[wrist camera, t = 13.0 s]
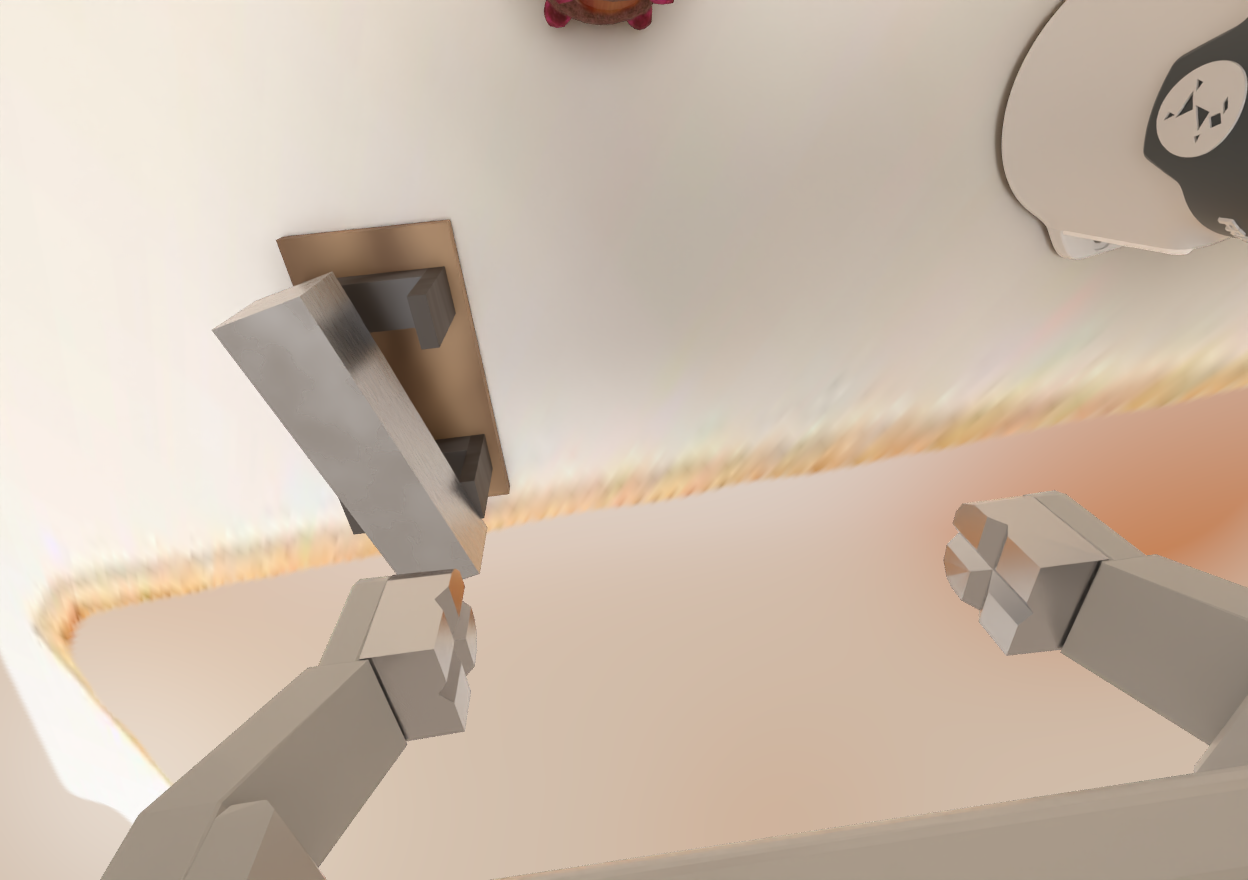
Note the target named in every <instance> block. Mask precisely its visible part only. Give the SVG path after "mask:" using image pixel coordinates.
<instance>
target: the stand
mask: <svg viewBox="0 0 1248 880" xmlns="http://www.w3.org/2000/svg"><path fill="white" fill-rule="evenodd" d="M276 241H277V244H278V247H279V249H280V252H281V255H282V257H283V260H284V263H285V265H286V268H287V271H288V273H289V276H290V278H291V281H292V284H293V286H296V285H299V284H301V283H304V282H306V281H309V280H312V279H314V278H317V277H319V276H322V275H325V274H327V273H330V272H333V273H334V274H335V276H336V278H337V279H338V281H339V283H340V284H341V286H342V288H343V289H344V291H345V293H346V294H347V296H348V297H349V299H350V301H351V302H352V304H353V306H354V307H355V309H356V311H357V312H358V314H359V316H360V317H361V319H362V321H363V322H364V324H365V326H366V327H367V329H368V331H369V332H370V334H371V336H372V337H373V339H374V341H375V342H376V344H377V346H378V347H379V349H380V351H381V352H382V354H383V355H384V357H385V359H386V360H387V362H388V364H389V365H390V367H391V369H392V370H393V372H394V374H395V375H396V377H397V379H398V380H399V382H400V384H401V385H402V387H403V389H404V390H405V392H406V394H407V395H408V397H409V399H410V400H411V402H412V404H413V405H414V407H415V409H416V410H417V412H418V413H419V415H420V417H421V418H422V420H423V422H424V423H425V425H426V427H427V428H428V430H429V432H430V433H431V435H432V437H433V438H434V440H435V442H436V443H437V445H438V447H439V448H440V450H441V452H442V453H443V455H444V457H445V458H446V460H447V462H448V463H449V465H450V466H451V468H452V470H453V471H454V473H455V475H456V476H457V478H458V480H459V481H460V483H461V485H462V486H463V488H464V490H465V491H466V493H467V495H468V496H469V498H470V500H471V501H472V503H473V505H474V506H475V508H476V510H477V511H478V513H479V515H480V516H481V518H484V516H485V510H486V504H487V499H488V497H489V496H497V495H505V494H509V490H510V485H509V480H508V476H507V471H506V467H505V463H504V458H503V454H502V449H501V445H500V440H499V436H498V431H497V427H496V422H495V418H494V414H493V409H492V405H491V400H490V396H489V391H488V387H487V382H486V378H485V373H484V369H483V364H482V360H481V356H480V351H479V347H478V342H477V338H476V333H475V329H474V324H473V320H472V315H471V311H470V307H469V302H468V298H467V293H466V289H465V284H464V280H463V275H462V271H461V266H460V262H459V258H458V253H457V249H456V244H455V240H454V235H453V231H452V226H451V222H450V220H441V221H431V222H421V223H412V224H402V225H392V226H383V227H373V228H363V229H353V230H344V231H334V232H324V233H315V234H305V235H295V236H286V237H281V238H279V239H277V240H276ZM339 500H340V499H339ZM340 503H341V505H342V507H343V510H344V512H345V515H346V517H347V519H348V522H349V524H350V527H351V529H352V531H353V534H361V533H365V532H364V531H363V529H362V528H361V527H360V525H359V524H358V523H357V521H356V520H355V519H354V517H353V516H352V515H351V513H350V512H349V511H348V509H347V508H346V507H345V505H344V504H343V503H342V502H341V500H340Z"/></svg>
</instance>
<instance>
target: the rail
mask: <svg viewBox="0 0 1248 880" xmlns="http://www.w3.org/2000/svg"><path fill="white" fill-rule="evenodd" d="M212 331H213V332H214V334H215V335H216V336H217V338H218V339H219V340H220V342H221V343H222V344H223V346H224V347H225V348H226V350H227V351H228V352H229V354H230V355H231V356H232V358H233V359H234V360H235V361H236V363H237V364H238V365H239V367H240V368H241V369H242V371H243V372H244V373H245V375H246V376H247V377H248V379H249V380H250V381H251V383H252V384H253V385H254V387H255V388H256V389H257V391H258V392H259V393H260V395H261V396H262V397H263V398H264V400H265V401H266V402H267V404H268V405H269V406H270V408H271V409H272V410H273V412H274V413H275V414H276V416H277V417H278V418H279V420H280V421H281V422H282V424H283V425H284V426H285V428H286V429H287V430H288V432H289V433H290V434H291V435H292V437H293V438H294V439H295V441H296V442H297V443H298V445H299V446H300V447H301V449H302V450H303V451H304V453H305V454H306V455H307V457H308V458H309V459H310V461H311V462H312V463H313V465H314V466H315V467H316V468H317V470H318V471H319V472H320V474H321V475H322V476H323V478H324V479H325V480H326V482H327V483H328V484H329V486H330V487H331V488H332V490H333V491H334V492H335V494H336V495H337V496H338V498H339V499H340V500H341V502H342V503H343V504H344V505H345V507H346V508H347V509H348V511H349V512H350V513H351V515H352V516H353V517H354V519H355V520H356V521H357V523H358V524H359V525H360V527H361V528H362V529H363V531H364V532H365V533H366V535H367V536H368V537H369V538H370V540H371V541H372V542H373V544H374V545H375V546H376V548H377V549H378V550H379V552H380V553H381V554H382V556H383V557H384V558H385V560H386V561H387V562H388V564H389V565H390V566H391V568H392V569H393V570H394V572H396V574H397V575H398V574H408V573H417V572H427V571H437V570H446V569H457V570H458V571H460V574H461V577H462V579H465V578H468V577H472V576H475V575H478V574H480V569H481V562H482V557H483V551H484V545H485V538H486V533H487V526H486V524H485V523H484V521H483V520H482V518H481V516H480V515H479V513H478V511H477V510H476V508H475V506H474V505H473V503H472V501H471V500H470V498H469V496H468V495H467V493H466V491H465V490H464V488H463V486H462V485H461V483H460V481H459V480H458V478H457V476H456V475H455V473H454V471H453V470H452V468H451V466H450V465H449V463H448V462H447V460H446V458H445V457H444V455H443V453H442V452H441V450H440V448H439V447H438V445H437V443H436V442H435V440H434V438H433V437H432V435H431V433H430V432H429V430H428V428H427V427H426V425H425V423H424V422H423V420H422V418H421V417H420V415H419V413H418V412H417V410H416V409H415V407H414V405H413V404H412V402H411V400H410V399H409V397H408V395H407V394H406V392H405V390H404V389H403V387H402V385H401V384H400V382H399V380H398V379H397V377H396V375H395V374H394V372H393V370H392V369H391V367H390V365H389V364H388V362H387V360H386V359H385V357H384V355H383V354H382V352H381V351H380V349H379V347H378V346H377V344H376V342H375V341H374V339H373V337H372V336H371V334H370V332H369V331H368V329H367V327H366V326H365V324H364V322H363V321H362V319H361V317H360V316H359V314H358V312H357V311H356V309H355V307H354V306H353V304H352V302H351V301H350V299H349V297H348V296H347V294H346V293H345V291H344V289H343V288H342V286H341V284H340V283H339V281H338V279H337V278H336V276H335V274H334V273H333V272H330V273H327V274H325V275H322V276H319V277H317V278H314V279H312V280H309V281H306V282H304V283H301V284H299V285H296V286H293V287H291V288H288V289H285V290H283V291H280V292H278V293H275V294H272V295H270V296H267V297H265V298H262V299H259V300H257V301H255V302H253V303H252V304H250V305H249V306H247V307H246V308H244V309H243V310H241V311H240V312H238V313H237V314H235V315H234V316H232V317H231V318H229V319H228V320H226V321H225V322H223V323H222V324H220V325H219V326H217V327H215V328H214V329H212Z"/></svg>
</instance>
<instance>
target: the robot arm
mask: <svg viewBox="0 0 1248 880" xmlns="http://www.w3.org/2000/svg"><path fill="white" fill-rule="evenodd" d="M1002 159H1003V166H1004V170H1005V174H1006V177H1007V181H1008V183H1009V185H1010V188H1011V190H1012V191H1013V193H1014V195H1015V196H1016V198H1017V199H1018V201H1019V202H1020V203H1021V204H1022V205H1023V206H1024V207H1025V208H1026V209H1027V210H1028V211H1029V212H1031V213H1032V214H1033V215H1035V216H1036V217H1037V218H1039V219H1040V220H1041V221H1042V222H1043V223H1044V224H1045V226H1046V227H1047V229H1048V233H1049V236H1050V239H1051V242H1052V244H1053V247H1054V249H1055V251H1056V252H1057V254H1058V255H1059V256H1061V257H1063V258H1068V259H1075V260H1080V259H1084V258H1088V257H1091V256H1094V255H1098V254H1101V253H1104V252H1108V251H1111V250H1114V249H1118V248H1121V247H1124V246H1127V247H1133V248H1138V249H1144V250H1149V251H1155V252H1160V253H1166V254H1173V255H1186V254H1189V253H1190V252H1191V251H1192V250H1193V249H1195V248H1201V247H1206V246H1209V245H1213V244H1216V243H1218V242H1221V241H1223V240H1226V239H1228V238H1231V237H1234V238H1239V239H1242V240H1243V241H1245V242H1248V0H1066V1H1065V2H1064V3H1063V5H1062V6H1061V7H1060V8H1059V9H1058V10H1057V11H1056V13H1055V14H1054V15H1053V16H1052V17H1051V19H1050V20H1049V21H1048V23H1047V24H1046V25H1045V27H1044V28H1043V30H1042V31H1041V33H1040V34H1039V35H1038V37H1037V38H1036V40H1035V42H1034V43H1033V45H1032V47H1031V48H1030V50H1029V52H1028V54H1027V56H1026V57H1025V59H1024V61H1023V63H1022V65H1021V68H1020V70H1019V72H1018V74H1017V77H1016V79H1015V82H1014V84H1013V87H1012V90H1011V93H1010V96H1009V99H1008V103H1007V107H1006V111H1005V116H1004V122H1003V129H1002ZM953 525H954V526H955V528H956V529H957V531H958V532H959V533H958V534H957V535H956V536H955V537H954V538H953V539H952V540H951V541H950V542H949V543H948V544H947V546H946V551H945V556H944V565H945V571H946V576H947V579H948V581H949V583H950V585H951V587H952V589H953V590H954V591H955V593H956V594H957V595H958V597H959V598H960V599H961V600H962V601H964V602H965V603H967V604H969V605H971V606H973V607H975V608H977V609H979V623H980V624H981V625H982V626H983V628H984V629H985V630H986V631H987V633H988V634H989V635H990V636H991V637H992V639H993V640H994V641H995V642H996V643H997V645H998V646H999V647H1000V648H1001V650H1002V651H1003V652H1004V653H1005V654H1006V655H1007V656H1008V655H1017V654H1026V653H1034V652H1044V651H1052V650H1061V653H1062V654H1064V655H1065V656H1067V657H1069V658H1070V659H1072V660H1073V661H1075V662H1077V663H1078V664H1080V665H1081V666H1083V667H1085V668H1086V669H1088V670H1089V671H1091V672H1093V673H1094V674H1096V675H1098V676H1099V677H1101V678H1102V679H1104V680H1105V681H1107V682H1109V683H1110V684H1112V685H1114V686H1115V687H1117V688H1118V689H1120V690H1122V691H1123V692H1125V693H1126V694H1128V695H1130V696H1131V697H1133V698H1134V699H1136V700H1137V701H1139V702H1141V703H1142V704H1144V705H1145V706H1147V707H1149V708H1150V709H1152V710H1154V711H1155V712H1157V713H1158V714H1160V715H1161V716H1163V717H1165V718H1166V719H1168V720H1169V721H1171V722H1173V723H1174V724H1176V725H1178V726H1179V727H1181V728H1182V729H1184V730H1185V731H1187V732H1189V733H1190V734H1192V735H1194V736H1195V737H1197V738H1198V739H1200V740H1201V741H1203V742H1205V743H1206V744H1208V745H1209V747H1208V749H1207V750H1206V751H1205V753H1204V754H1203V755H1202V757H1201V758H1200V759H1199V761H1198V762H1197V764H1196V765H1195V768H1194V773H1192V774H1186V775H1179V776H1173V777H1166V778H1159V779H1153V780H1146V781H1139V782H1133V783H1126V784H1119V785H1113V786H1106V787H1100V788H1094V789H1086V790H1080V791H1073V792H1067V793H1060V794H1053V795H1047V796H1040V797H1033V798H1027V799H1020V800H1013V801H1006V802H1000V803H994V804H987V805H980V806H974V807H967V808H960V809H954V810H947V811H940V812H933V813H927V814H920V815H913V816H907V817H900V818H894V819H887V820H880V821H874V822H867V823H861V824H854V825H847V826H841V827H834V828H828V829H821V830H815V831H808V832H801V833H795V834H788V835H782V836H775V837H769V838H762V839H755V840H749V841H742V842H736V843H729V844H722V845H716V846H709V847H703V848H696V849H690V850H684V851H677V852H670V853H663V854H657V855H651V856H643V857H637V858H630V859H623V860H617V861H611V862H604V863H598V864H590V865H584V866H577V867H571V868H565V869H558V870H551V871H545V872H538V873H532V874H525V875H518V876H512V877H505V878H498V879H491V880H1248V588H1247V587H1244V586H1241V585H1239V584H1236V583H1233V582H1230V581H1228V580H1225V579H1222V578H1220V577H1217V576H1214V575H1211V574H1209V573H1206V572H1203V571H1200V570H1197V569H1195V568H1192V567H1189V566H1187V565H1184V564H1181V563H1178V562H1176V561H1173V560H1170V559H1167V558H1165V557H1162V556H1159V555H1147V556H1146V555H1145V554H1143V553H1142V552H1141V551H1140V550H1138V549H1137V548H1135V547H1134V546H1133V545H1132V544H1130V543H1129V542H1128V541H1127V540H1125V539H1124V538H1122V537H1121V536H1120V535H1119V534H1117V533H1116V532H1115V531H1113V530H1112V529H1111V528H1109V527H1108V526H1107V525H1106V524H1104V523H1103V522H1102V521H1100V520H1099V519H1098V518H1097V517H1095V516H1094V515H1093V514H1091V513H1090V512H1089V511H1087V510H1086V509H1085V508H1083V507H1082V506H1081V505H1080V504H1078V503H1077V502H1076V501H1074V500H1073V499H1072V498H1070V497H1069V496H1068V495H1066V494H1064V493H1061V492H1058V491H1047V492H1040V493H1034V494H1027V495H1023V496H1016V497H1009V498H1002V499H994V500H986V501H979V502H972V503H965V504H962V505H961V506H960V507H959V509H958V510H957V511H956V514H955V517H954V520H953ZM464 589H465V585H464V582H463V579H462V577H461V574H460V571H458V570H457V569H446V570H437V571H427V572H417V573H408V574H398V575H392V576H386V577H377V578H366V579H360V580H359V581H357V582H356V583H355V584H354V585H353V586H352V588H351V591H350V593H349V596H348V598H347V600H346V602H345V605H344V607H343V609H342V612H341V614H340V616H339V619H338V621H337V624H336V626H335V628H334V630H333V633H332V635H331V637H330V640H329V642H328V644H327V647H326V649H325V651H324V654H323V656H322V658H321V661H320V663H319V665H318V666H316V667H309V668H307V669H306V670H304V671H303V672H302V673H301V674H300V675H299V676H298V677H296V678H295V679H294V680H293V681H292V682H291V683H290V684H289V685H287V686H286V687H285V688H284V689H283V690H282V691H280V692H279V693H278V694H277V695H276V696H275V697H274V698H272V699H271V700H270V701H269V702H268V703H267V704H265V705H264V706H263V707H262V708H261V709H260V710H259V711H257V712H256V713H255V714H254V715H253V716H252V717H251V718H249V719H248V720H247V721H246V722H245V723H244V724H243V725H241V726H240V727H239V728H238V729H237V730H236V731H234V733H232V734H231V735H230V736H229V737H228V738H226V739H225V740H224V741H223V742H222V743H221V744H219V745H218V746H217V747H216V748H215V749H214V750H213V751H211V752H210V753H209V754H208V755H207V756H206V757H204V758H203V759H202V760H201V761H200V762H199V763H198V764H197V765H195V766H194V767H193V768H192V769H191V770H189V771H188V772H187V773H186V774H185V775H184V776H183V777H181V778H180V779H179V780H178V781H177V782H176V783H174V784H173V785H172V786H171V787H170V788H169V789H168V790H166V791H165V792H164V793H163V794H162V795H161V796H160V797H158V798H157V799H156V800H155V801H154V802H153V803H151V804H150V805H149V806H148V807H147V808H146V809H145V810H143V811H142V812H141V813H140V814H139V815H138V817H137V818H136V820H135V822H134V824H133V825H132V827H131V829H130V830H129V832H128V834H127V836H126V837H125V839H124V841H123V842H122V844H121V846H120V847H119V849H118V851H117V852H116V854H115V856H114V858H113V859H112V861H111V862H110V864H109V866H108V868H107V869H106V871H105V872H104V874H103V876H102V878H101V879H100V880H327V879H326V878H325V876H324V875H323V874H322V872H321V871H320V870H319V866H320V865H321V863H322V862H323V861H324V859H325V858H326V856H327V855H328V854H329V852H330V851H331V849H332V848H333V846H334V845H335V844H336V843H337V841H338V840H339V838H340V837H341V836H342V834H343V833H344V831H345V830H346V829H347V827H348V826H349V824H350V823H351V822H352V820H353V819H354V818H355V816H356V815H357V814H358V812H359V811H360V809H361V808H362V806H363V805H364V804H365V802H366V801H367V799H368V798H369V797H370V796H371V794H372V793H373V791H374V790H375V789H376V787H377V786H378V785H379V783H380V782H381V780H382V779H383V778H384V776H385V775H386V773H387V772H388V771H389V769H390V768H391V767H392V765H393V764H394V762H395V761H396V760H397V758H398V757H399V756H400V754H401V752H402V751H403V750H404V749H405V747H406V746H407V742H406V741H410V740H417V739H423V738H428V737H435V736H440V735H446V734H452V733H458V732H464V731H465V726H466V720H467V713H468V707H469V700H470V694H471V690H470V688H469V685H468V682H467V678H466V676H467V674H468V673H469V672H470V671H471V670H472V669H473V668H474V666H475V659H476V651H477V640H476V639H477V638H476V637H477V633H476V626H475V619H474V615H473V612H472V608H471V606H469V605H468V604H466V603H465V602H464V601H462V600H463V594H464Z"/></svg>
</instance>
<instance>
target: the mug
mask: <svg viewBox="0 0 1248 880" xmlns="http://www.w3.org/2000/svg"><path fill="white" fill-rule="evenodd" d="M673 2H674V0H546V3H545V7H544V15H545V19H546V21H547V23H548V24H549V25H550V26H552V27H556V28H559V27H565V25H566V24H567V23H568V22H569V21H570V19H571V18H573V19H576V20H579V21H581V22H584V23H589V24H596V25H607V24H615V23H619V22H623V21H627V22H628V23H629V25H631V26H632V27H633V28H634V29H638V30H642V29H645V28H646V27H647V26H649V25H650V24H651V20H652V4H653V3H654V4H669V3H673Z"/></svg>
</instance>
